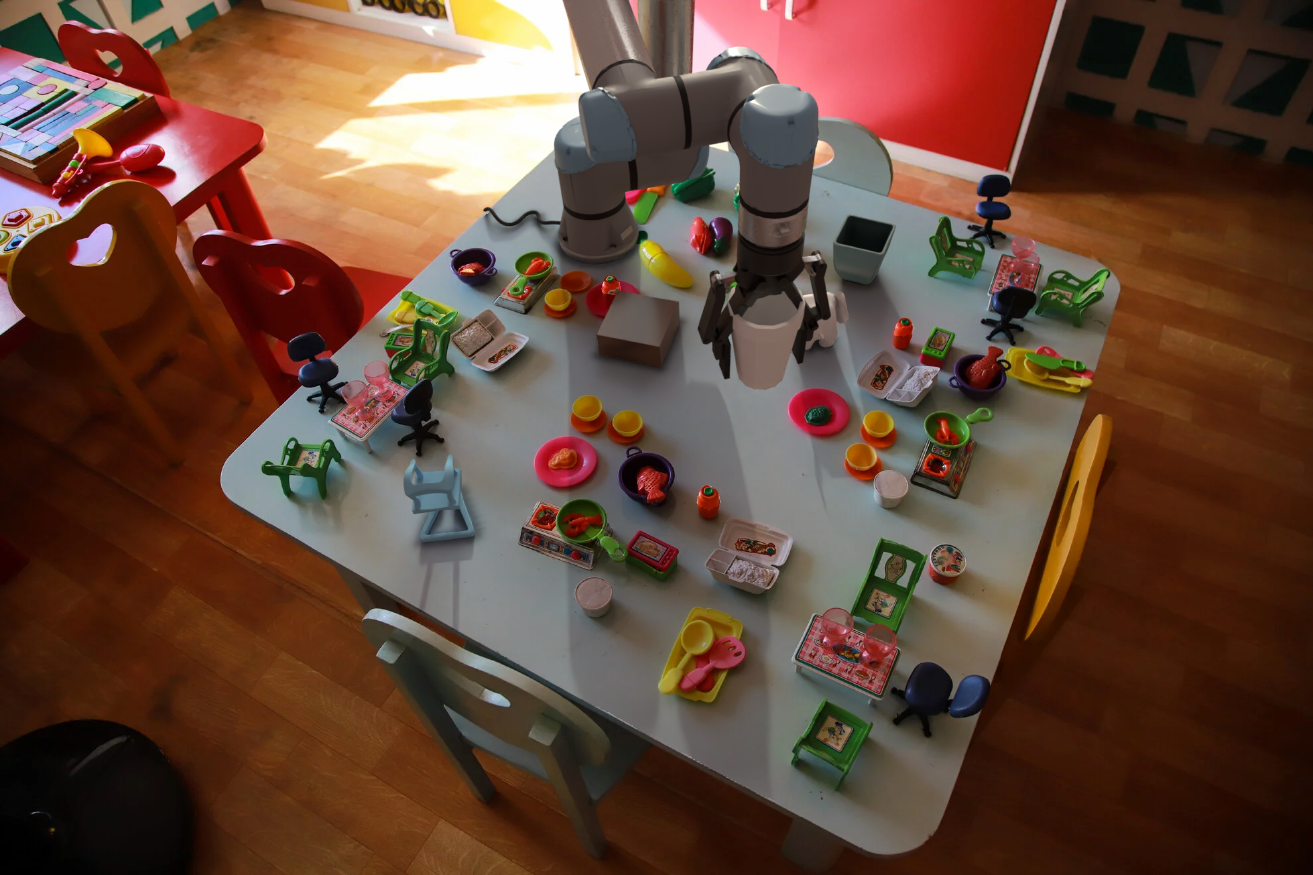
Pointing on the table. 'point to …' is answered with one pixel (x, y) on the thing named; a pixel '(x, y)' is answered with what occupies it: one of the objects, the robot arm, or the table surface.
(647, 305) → the block
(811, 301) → the elephant figurine
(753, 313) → the foam cup
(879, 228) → the flower pot
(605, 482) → the table surface
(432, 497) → the chair
